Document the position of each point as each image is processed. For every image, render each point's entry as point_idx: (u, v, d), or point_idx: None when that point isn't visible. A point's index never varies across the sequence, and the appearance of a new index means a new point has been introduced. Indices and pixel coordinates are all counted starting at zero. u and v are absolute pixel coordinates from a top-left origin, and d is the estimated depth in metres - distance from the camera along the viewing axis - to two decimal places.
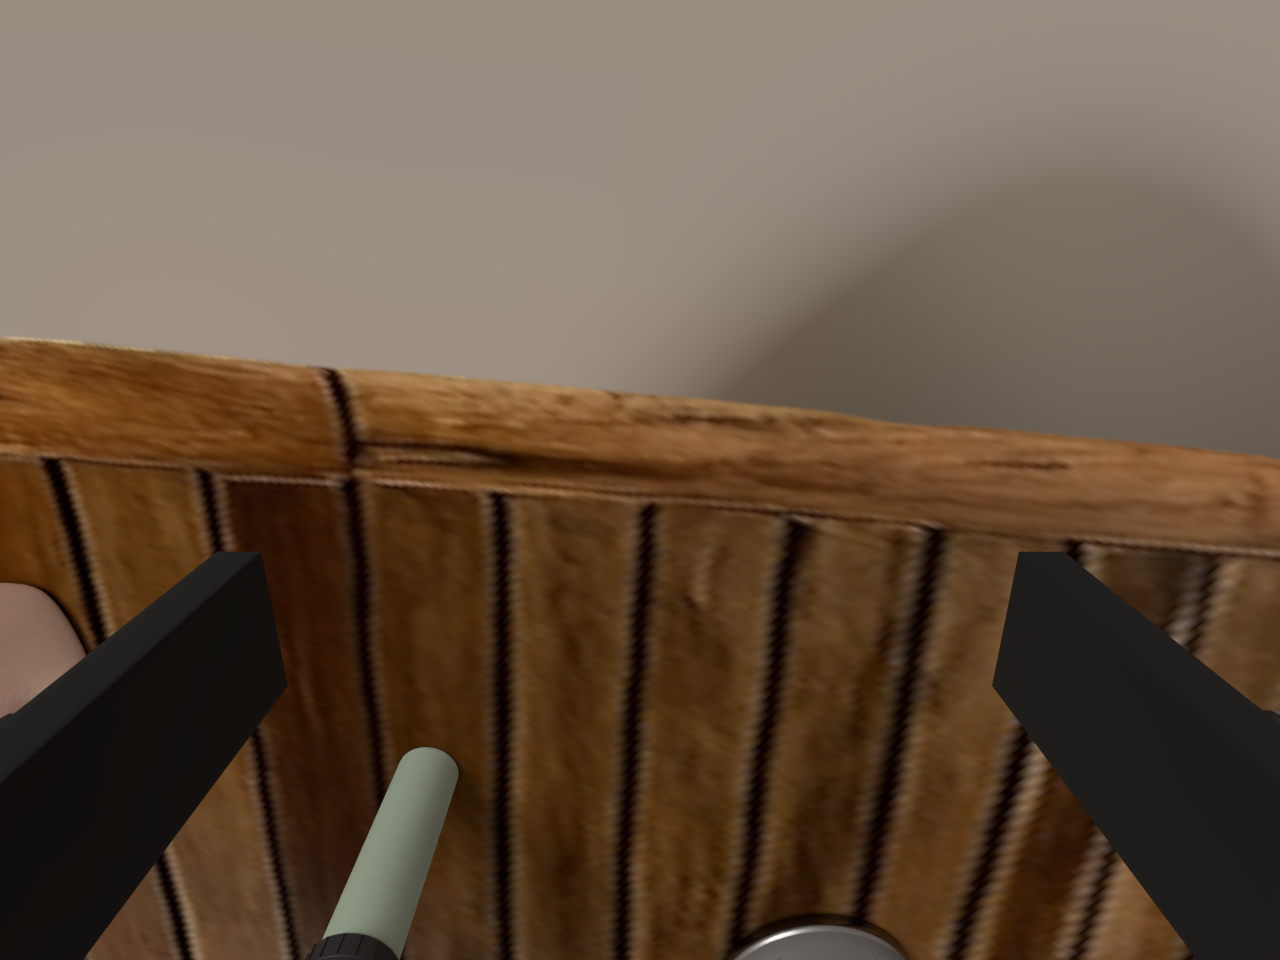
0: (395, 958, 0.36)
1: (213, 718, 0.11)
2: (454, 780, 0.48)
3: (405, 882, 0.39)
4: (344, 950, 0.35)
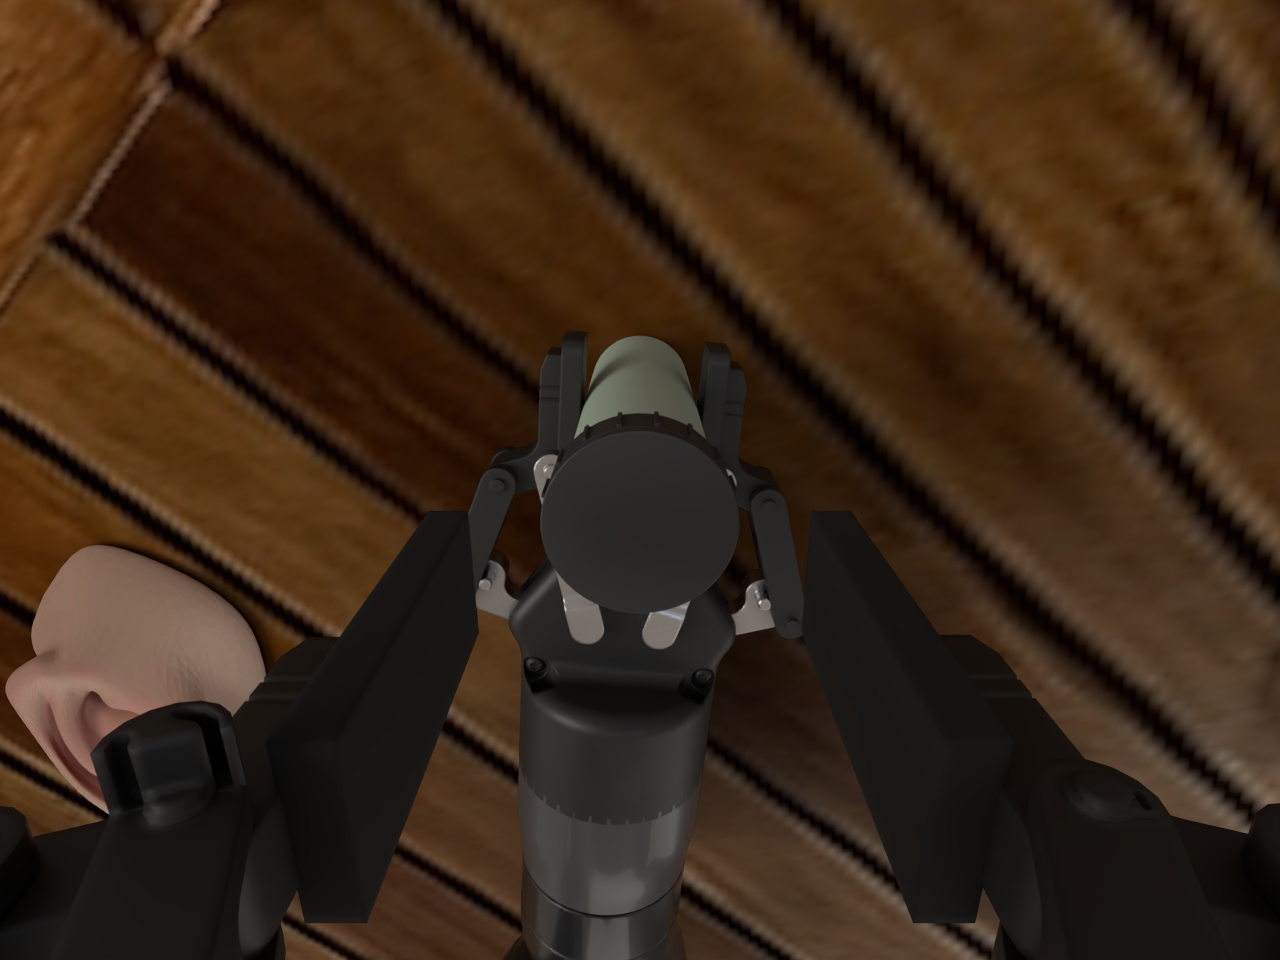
0: (676, 421, 0.17)
1: (449, 650, 0.13)
2: (669, 349, 0.29)
3: (641, 388, 0.21)
4: (569, 451, 0.17)
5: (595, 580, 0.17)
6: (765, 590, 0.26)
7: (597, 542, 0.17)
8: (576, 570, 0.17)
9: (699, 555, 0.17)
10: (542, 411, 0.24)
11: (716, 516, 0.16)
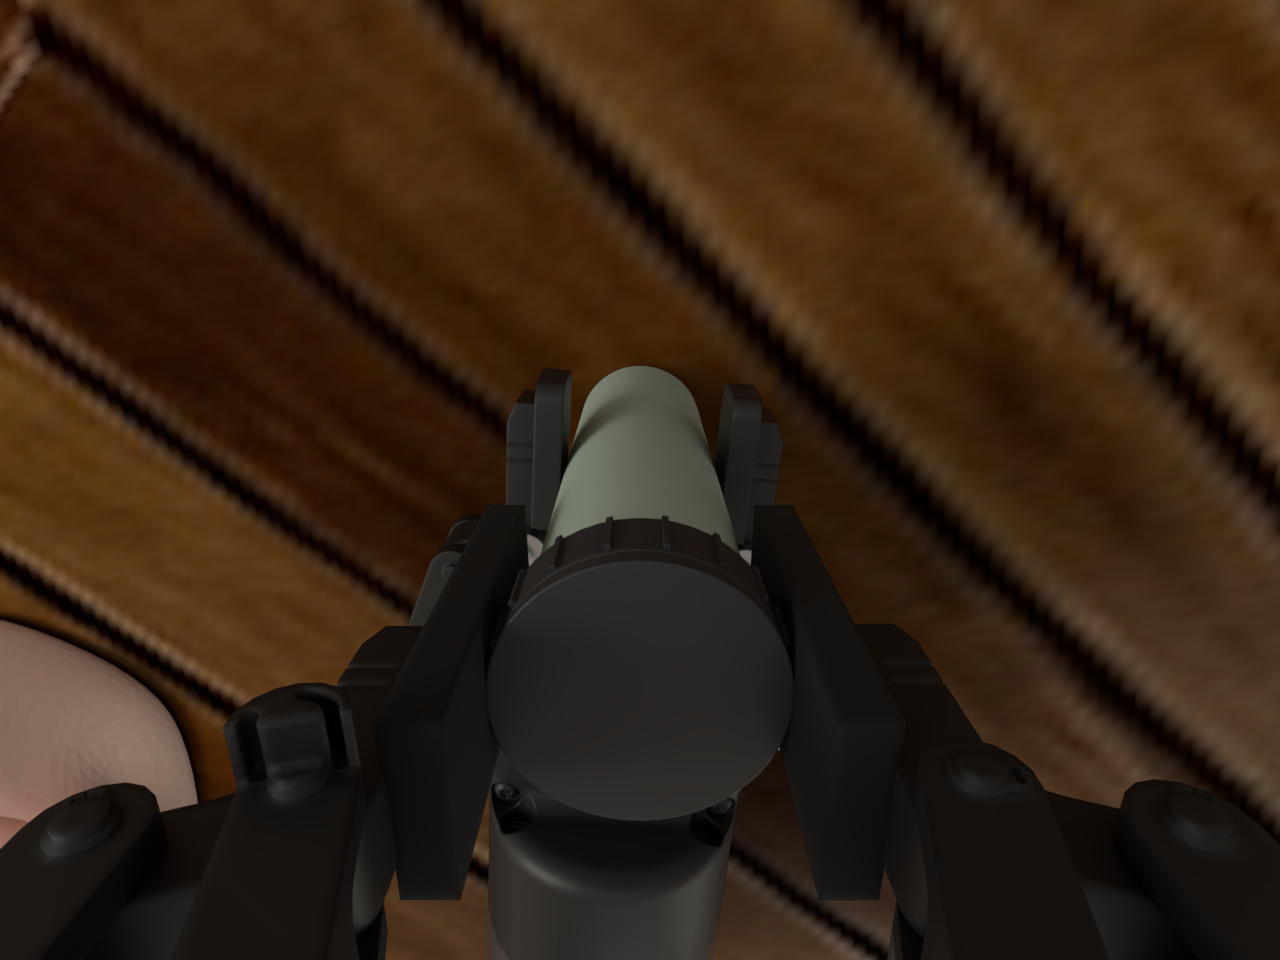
0: (696, 531, 0.11)
1: None
2: (677, 384, 0.23)
3: (642, 458, 0.15)
4: (530, 583, 0.11)
5: (571, 775, 0.11)
6: None
7: (574, 723, 0.11)
8: (542, 761, 0.11)
9: (732, 741, 0.11)
10: (510, 476, 0.18)
11: (759, 686, 0.11)
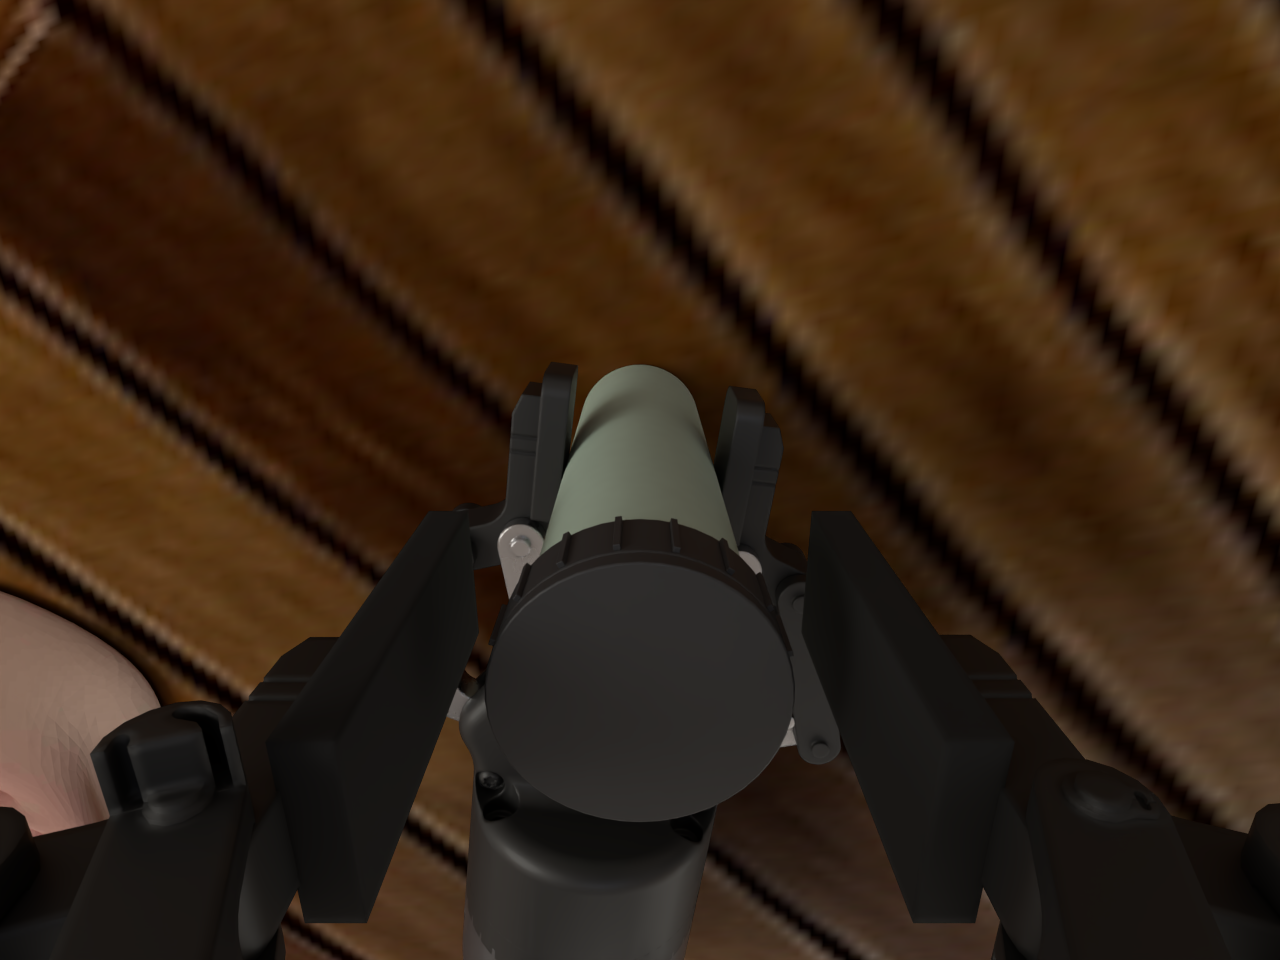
0: (516, 585, 0.12)
1: (449, 651, 0.13)
2: (679, 385, 0.23)
3: (647, 455, 0.15)
4: None
5: (719, 771, 0.11)
6: None
7: (655, 759, 0.11)
8: (696, 790, 0.11)
9: (705, 628, 0.10)
10: (512, 467, 0.18)
11: (640, 596, 0.10)
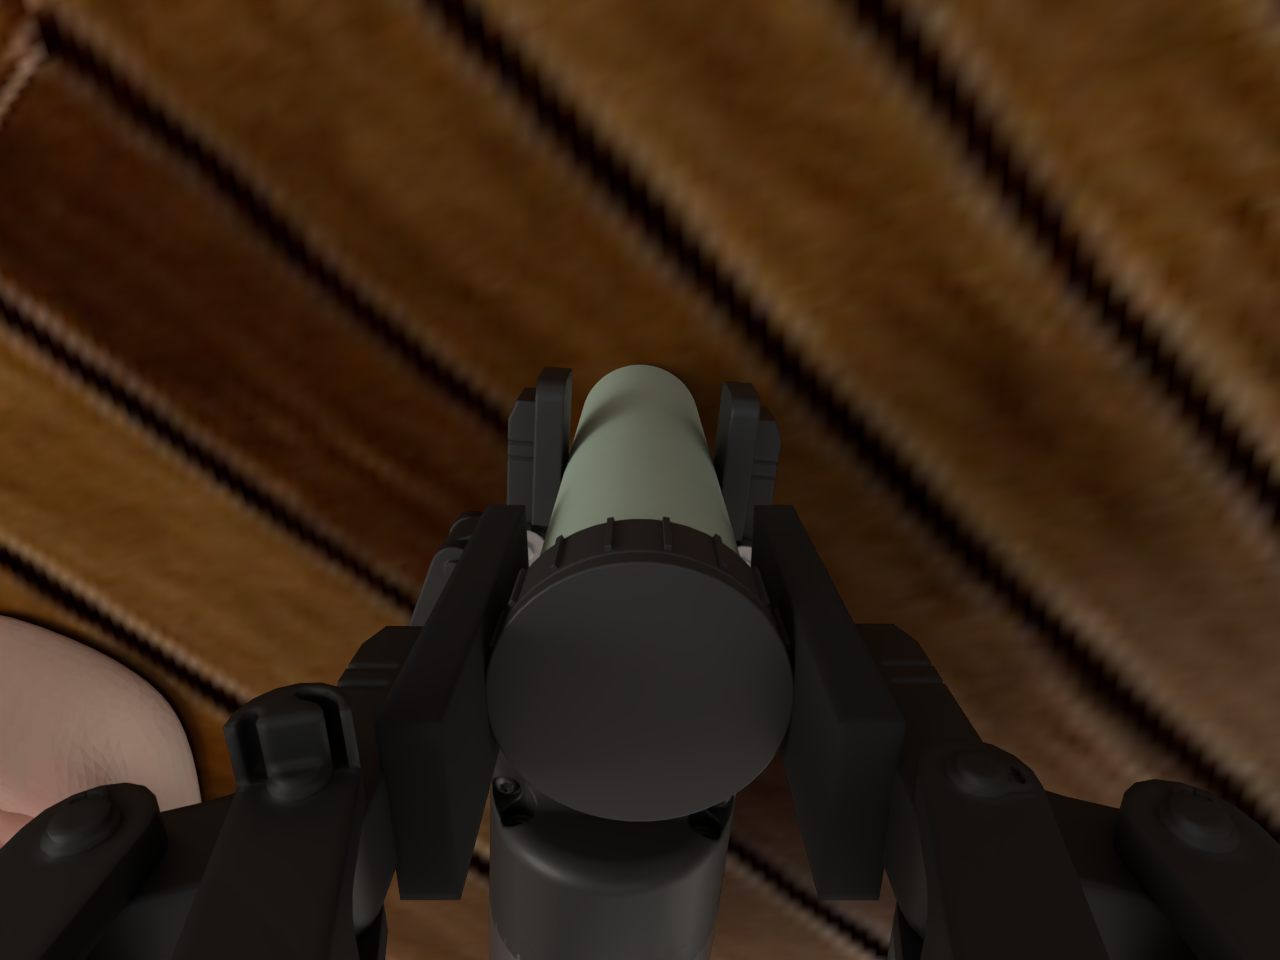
0: None
1: None
2: (676, 382, 0.23)
3: (642, 455, 0.15)
4: None
5: (723, 767, 0.11)
6: None
7: (658, 758, 0.11)
8: (701, 787, 0.11)
9: (701, 625, 0.10)
10: (511, 473, 0.18)
11: (634, 596, 0.10)
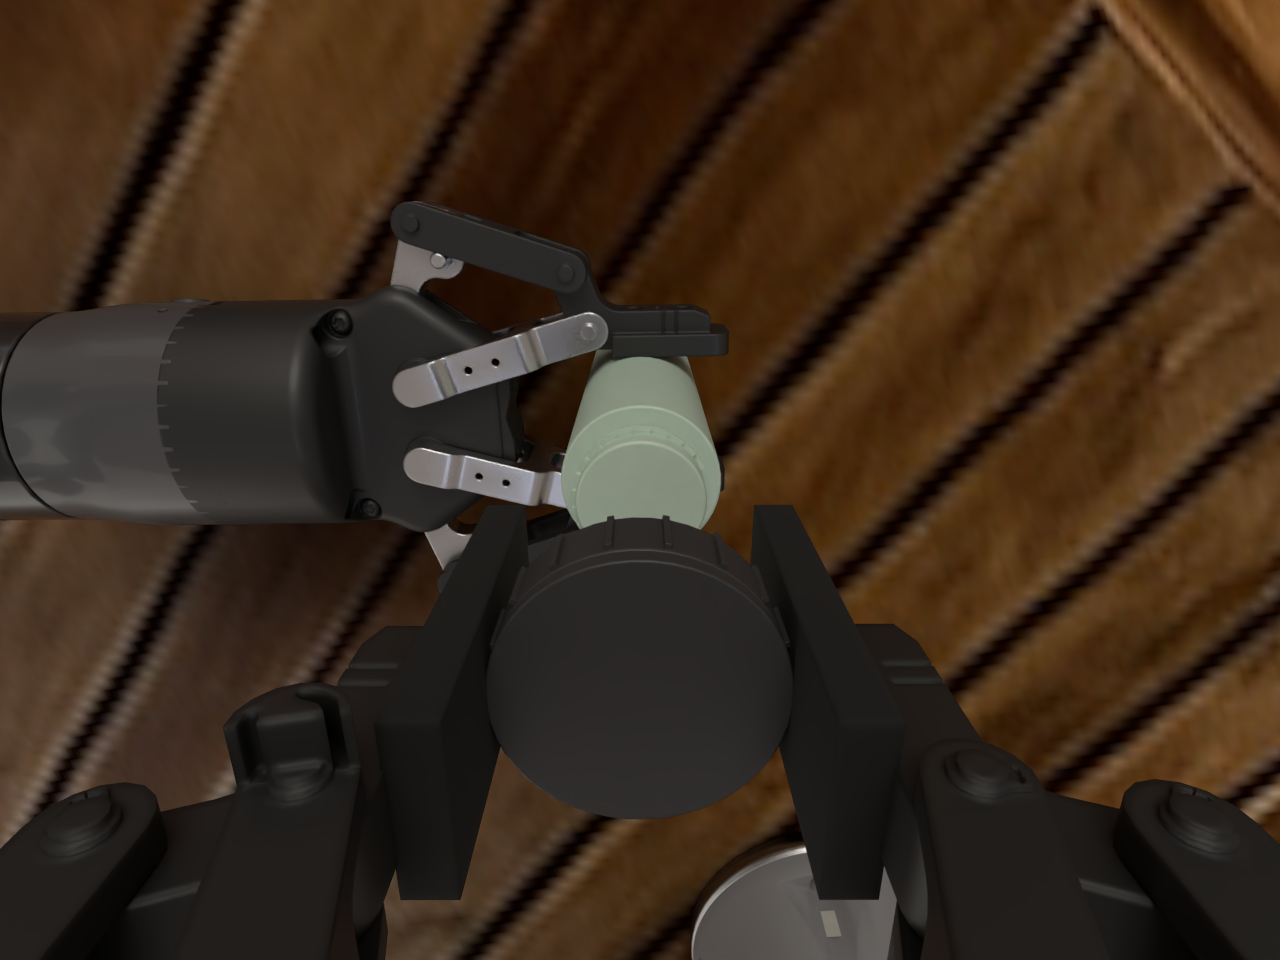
0: None
1: None
2: None
3: None
4: None
5: (722, 764, 0.11)
6: None
7: (658, 755, 0.11)
8: (701, 785, 0.11)
9: (700, 623, 0.10)
10: (650, 314, 0.23)
11: (633, 594, 0.10)
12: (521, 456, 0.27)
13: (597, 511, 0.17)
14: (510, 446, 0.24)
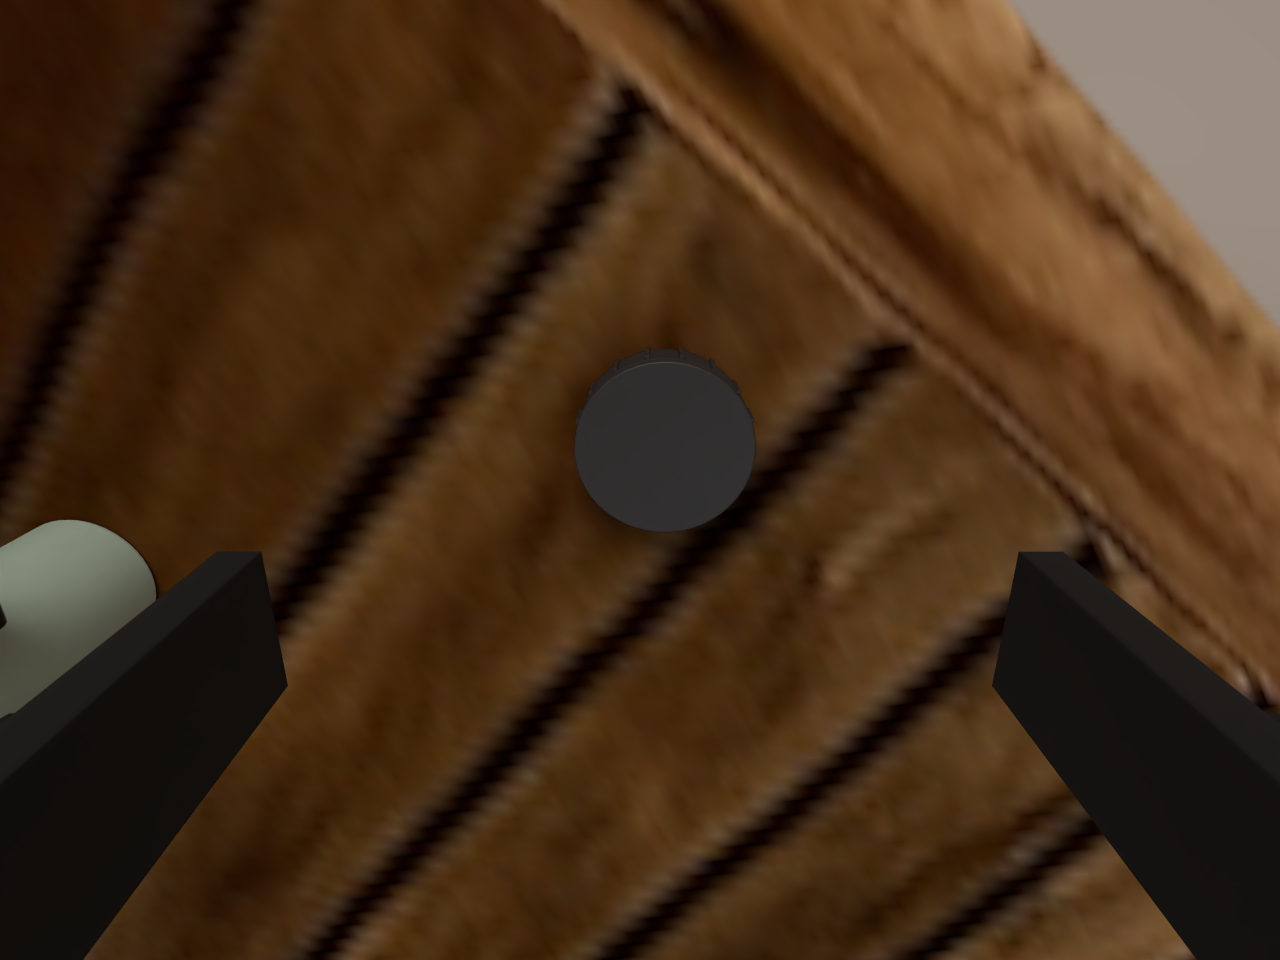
0: (588, 395, 0.19)
1: (213, 718, 0.11)
2: None
3: None
4: None
5: (714, 494, 0.19)
6: None
7: (675, 488, 0.19)
8: (701, 509, 0.19)
9: (700, 401, 0.18)
10: None
11: (662, 382, 0.18)
12: None
13: None
14: None
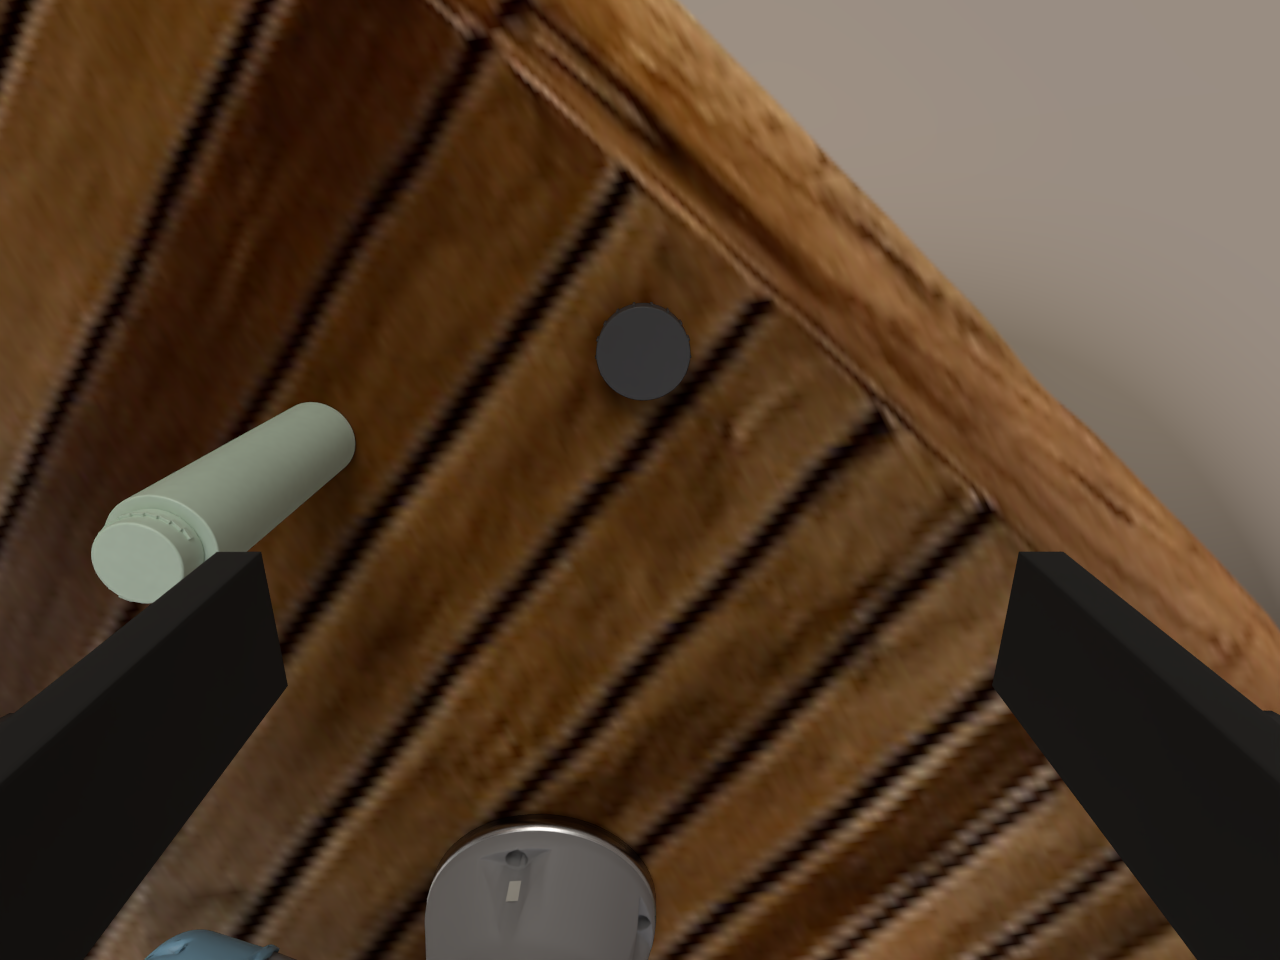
0: (602, 328, 0.36)
1: (213, 718, 0.11)
2: (344, 463, 0.38)
3: (264, 506, 0.29)
4: None
5: (669, 378, 0.36)
6: None
7: (649, 375, 0.35)
8: (662, 386, 0.36)
9: (661, 327, 0.35)
10: None
11: (641, 317, 0.35)
12: None
13: (108, 569, 0.25)
14: None
